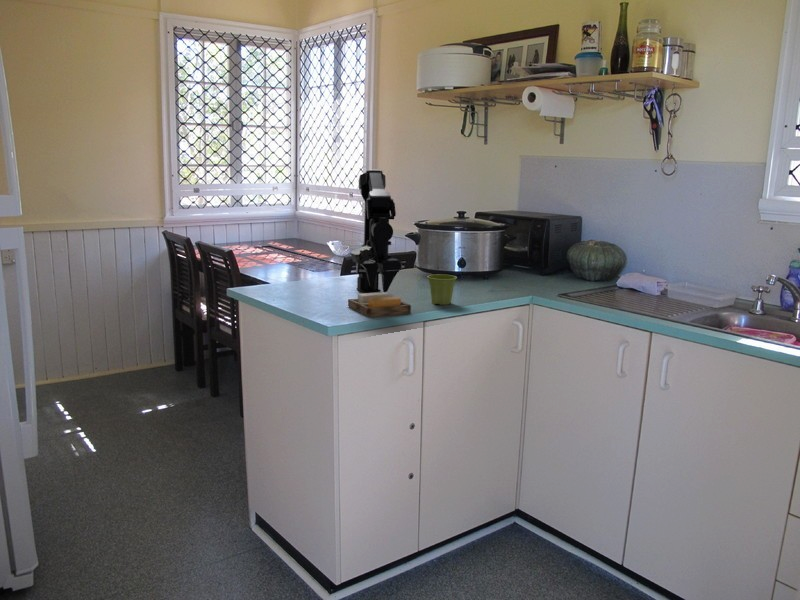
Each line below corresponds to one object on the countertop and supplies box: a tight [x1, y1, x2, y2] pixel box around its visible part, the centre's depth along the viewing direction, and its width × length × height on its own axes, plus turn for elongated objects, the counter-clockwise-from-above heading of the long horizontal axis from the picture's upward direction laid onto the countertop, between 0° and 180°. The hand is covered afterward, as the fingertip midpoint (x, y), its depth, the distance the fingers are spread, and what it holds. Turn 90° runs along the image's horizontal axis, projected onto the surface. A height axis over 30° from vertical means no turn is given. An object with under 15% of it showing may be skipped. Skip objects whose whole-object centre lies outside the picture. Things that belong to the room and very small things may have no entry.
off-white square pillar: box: [357, 291, 390, 303], centre depth 205 cm, size 9×4×4 cm, turn 118°
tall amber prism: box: [369, 296, 402, 308], centre depth 199 cm, size 9×4×4 cm, turn 118°
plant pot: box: [426, 273, 458, 306], centre depth 214 cm, size 9×9×9 cm
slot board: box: [347, 295, 412, 318], centre depth 202 cm, size 14×14×2 cm
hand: (378, 289), depth 201 cm, fingers open, 9 cm apart
